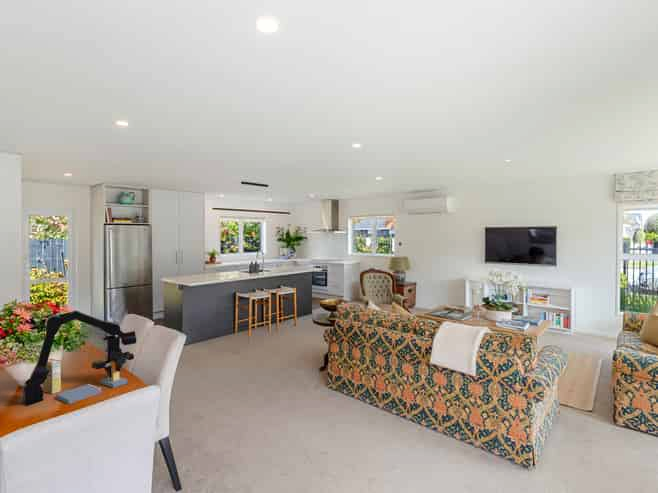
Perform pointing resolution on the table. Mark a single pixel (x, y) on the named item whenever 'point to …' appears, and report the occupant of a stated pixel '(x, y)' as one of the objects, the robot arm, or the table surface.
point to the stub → (114, 380)
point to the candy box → (53, 377)
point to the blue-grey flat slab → (78, 393)
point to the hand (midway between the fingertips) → (113, 376)
